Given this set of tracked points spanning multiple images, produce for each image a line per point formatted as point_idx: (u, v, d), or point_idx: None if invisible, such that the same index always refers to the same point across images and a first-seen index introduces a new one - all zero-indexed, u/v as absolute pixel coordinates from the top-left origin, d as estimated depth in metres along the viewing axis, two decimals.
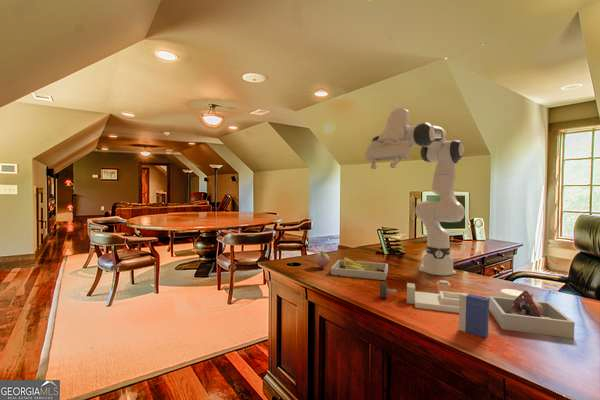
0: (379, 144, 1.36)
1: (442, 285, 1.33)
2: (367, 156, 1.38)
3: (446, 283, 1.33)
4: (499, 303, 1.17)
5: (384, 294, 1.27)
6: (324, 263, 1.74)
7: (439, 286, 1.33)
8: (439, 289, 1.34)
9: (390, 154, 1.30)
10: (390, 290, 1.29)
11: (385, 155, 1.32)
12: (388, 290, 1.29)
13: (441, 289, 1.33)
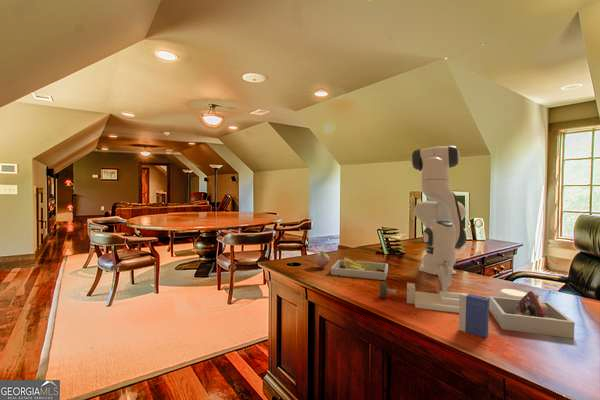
0: None
1: None
2: (437, 273, 1.44)
3: None
4: (499, 303, 1.17)
5: (384, 294, 1.27)
6: (324, 263, 1.74)
7: (439, 286, 1.33)
8: (439, 289, 1.34)
9: None
10: (390, 290, 1.29)
11: (439, 278, 1.35)
12: (388, 290, 1.29)
13: (441, 289, 1.33)
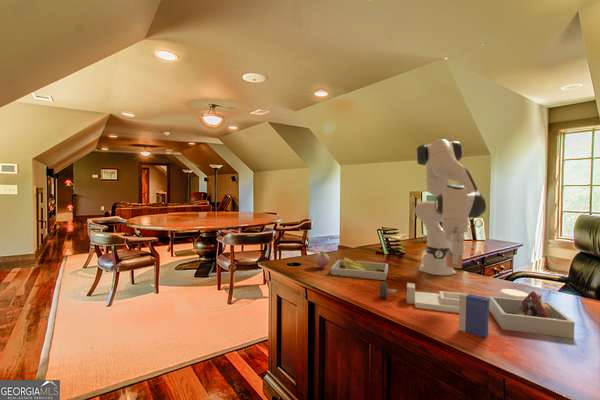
0: None
1: None
2: (446, 244, 1.30)
3: None
4: (499, 303, 1.17)
5: (384, 294, 1.27)
6: (324, 263, 1.74)
7: (449, 256, 1.20)
8: (449, 260, 1.20)
9: (450, 249, 1.19)
10: (390, 290, 1.29)
11: (449, 249, 1.21)
12: (388, 290, 1.29)
13: (451, 260, 1.19)
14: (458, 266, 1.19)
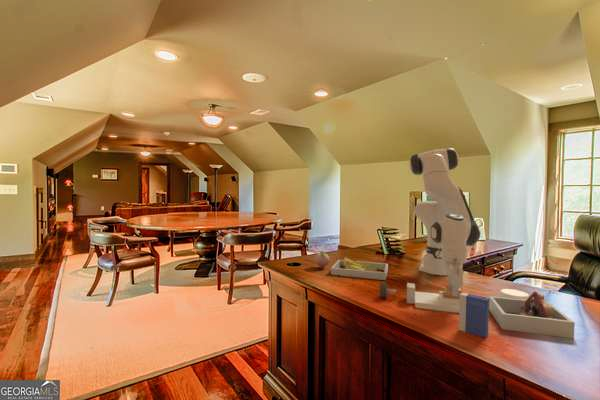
0: None
1: None
2: (445, 272, 1.30)
3: None
4: (499, 303, 1.17)
5: (384, 294, 1.27)
6: (324, 263, 1.74)
7: (448, 291, 1.20)
8: (448, 295, 1.20)
9: (449, 280, 1.19)
10: (390, 290, 1.29)
11: None
12: (388, 290, 1.29)
13: (451, 295, 1.20)
14: None
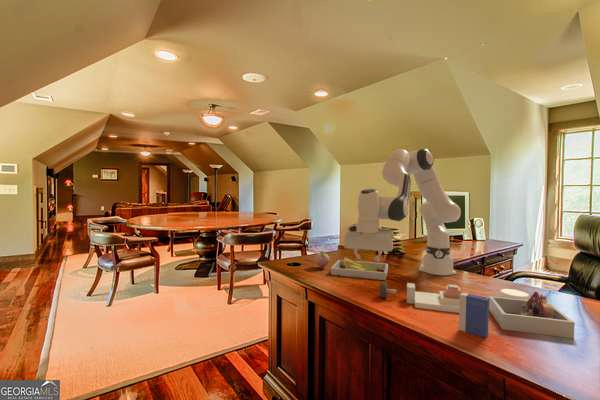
0: (358, 235, 1.31)
1: (452, 290, 1.20)
2: (347, 247, 1.33)
3: (456, 288, 1.20)
4: (499, 303, 1.17)
5: (384, 294, 1.27)
6: (324, 263, 1.74)
7: (448, 291, 1.20)
8: (448, 295, 1.20)
9: (375, 249, 1.29)
10: (390, 290, 1.29)
11: (369, 249, 1.30)
12: (388, 290, 1.29)
13: (451, 295, 1.20)
14: None
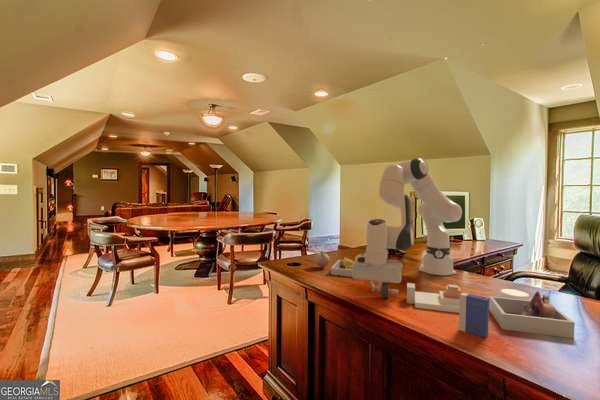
0: (366, 266, 1.30)
1: (452, 290, 1.20)
2: (355, 277, 1.32)
3: (456, 288, 1.20)
4: (499, 303, 1.17)
5: (386, 294, 1.27)
6: (324, 263, 1.74)
7: (448, 291, 1.20)
8: (448, 295, 1.20)
9: (383, 280, 1.29)
10: (392, 290, 1.29)
11: (377, 280, 1.29)
12: (390, 290, 1.29)
13: (451, 295, 1.20)
14: None
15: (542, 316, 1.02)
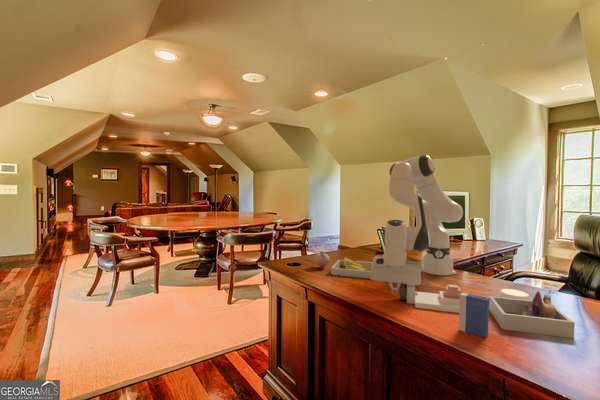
0: (385, 267, 1.28)
1: (452, 290, 1.20)
2: (373, 279, 1.30)
3: (456, 288, 1.20)
4: (499, 303, 1.17)
5: (404, 296, 1.25)
6: (324, 263, 1.74)
7: (448, 291, 1.20)
8: (448, 295, 1.20)
9: (402, 282, 1.26)
10: None
11: (396, 282, 1.27)
12: None
13: (451, 295, 1.20)
14: None
15: (542, 316, 1.02)
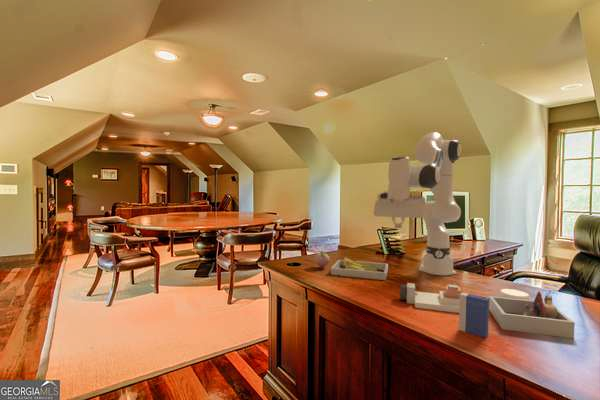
0: (389, 202, 1.30)
1: (452, 290, 1.20)
2: (377, 215, 1.32)
3: (456, 288, 1.20)
4: (499, 303, 1.17)
5: (404, 296, 1.25)
6: (324, 263, 1.74)
7: (448, 291, 1.20)
8: (448, 295, 1.20)
9: (406, 215, 1.29)
10: None
11: (400, 216, 1.29)
12: None
13: (451, 295, 1.20)
14: None
15: (542, 316, 1.02)
